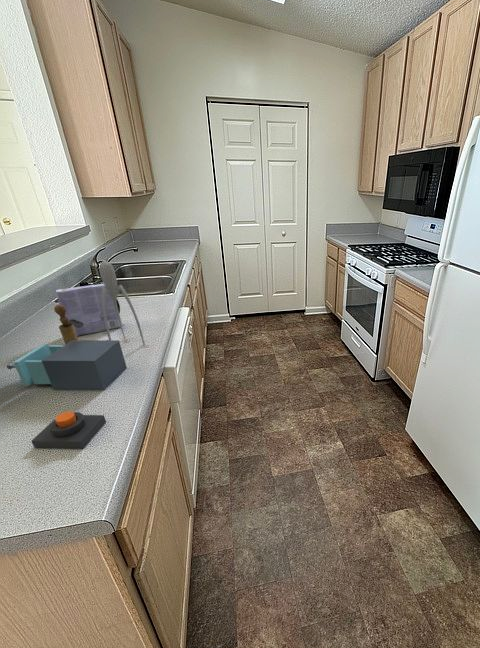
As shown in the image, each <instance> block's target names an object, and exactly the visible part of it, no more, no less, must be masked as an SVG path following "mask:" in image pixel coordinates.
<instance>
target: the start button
mask: <svg viewBox="0 0 480 648" xmlns="http://www.w3.org/2000/svg"><path fill="white" fill-rule="evenodd" d="M73 412H74V411H65V412H62V413H60V414H58V415H57V416H56V417H55V418H56V419H55V418H54V419H55V421H56V423H57V425H58V427H66V426H69V425H71V424H73V423H75V422H76V417H75V414H74V413H73Z"/></svg>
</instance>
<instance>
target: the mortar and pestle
mask: <svg viewBox="0 0 480 648" xmlns="http://www.w3.org/2000/svg"><path fill="white" fill-rule="evenodd" d="M53 310H54V311H53V312H54V313H56V314H57V315H58V316H59V322H60V323H61V324H60V325H59V326H58V328H59V331H60V334H61V336H62V340H63V342H64V345H66V344H67V343H69V342H70V341H72V340H79V336H77V334H76V331H75V328H74V325H73V323H68V317H66V316H65V312H66V308H65V306H63V305H60V304H56V305H55V306H54V308H53Z"/></svg>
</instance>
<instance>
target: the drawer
mask: <svg viewBox="0 0 480 648" xmlns="http://www.w3.org/2000/svg"><path fill="white" fill-rule="evenodd" d="M64 345H65V344H64ZM64 345H63V344H62V345H61V344H60V345H58V344H57V345H56V344H55V345H54V344H53V345H51V344H48V343H42V344H40V345H39V346H37V347H36V348H34V349H32V350H31V351H29V352H28V353H25V354H24V355H22V356H20V357H18V358H16V359H15V360H13V361H12V362H10V363H8V364H7V365H6V368H7V369H8V370H12V369H15V370H16V372H17V374H18V376H19V378H20V380H21V383H22V385H23V386H24V387H29V386H30V385H32V384H33V385H51V382H50V380H49V377H48V375H47V373H46V370H45V368H44V365H43V363H42V360H43V359H45V358H46V357H48V356H49V355H51V354H52V353H54V352H55V351H57V350H58V349H60V348H61V347H63V346H64Z"/></svg>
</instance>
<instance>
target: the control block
mask: <svg viewBox="0 0 480 648" xmlns="http://www.w3.org/2000/svg"><path fill="white" fill-rule="evenodd" d="M72 412H73V413H74V414H75V417H76V422H75V423H73V424H71V425H69V426H66V427H58V425H57V423H56V421H55V419H56V417H55V418H54V419H53V420H52V421H51V422H50V423H49V424H48V425H47V426H46V427H44V428H43V429H42V431H40V432H39V433H38V434H37V435H36V436H35V437H34V438H32V439H31V441H30V442H31V444H32V446H33V448H34V449H51V450H84V449H85V448H86V447H87V446H88V445H89V443H90V442H91V441H92V440H93V439H94V438H95V436H97V434H98V433H99V432H100V430H101V429H102V428H103V427H104V426H105V425H106V423H107V419H106V417H105V415H104V414H83V413H81V412H79V411H78V412H77V411H72Z"/></svg>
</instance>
